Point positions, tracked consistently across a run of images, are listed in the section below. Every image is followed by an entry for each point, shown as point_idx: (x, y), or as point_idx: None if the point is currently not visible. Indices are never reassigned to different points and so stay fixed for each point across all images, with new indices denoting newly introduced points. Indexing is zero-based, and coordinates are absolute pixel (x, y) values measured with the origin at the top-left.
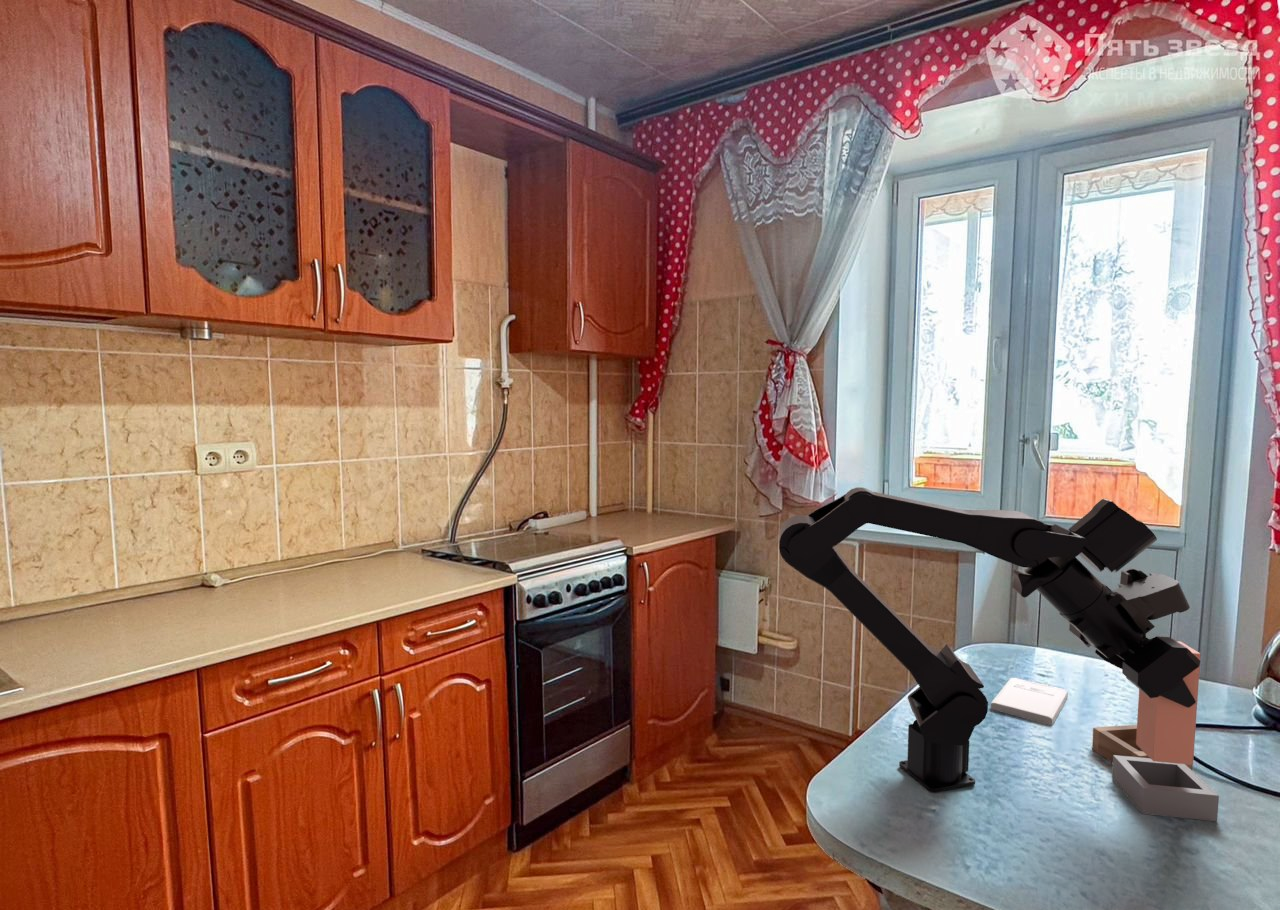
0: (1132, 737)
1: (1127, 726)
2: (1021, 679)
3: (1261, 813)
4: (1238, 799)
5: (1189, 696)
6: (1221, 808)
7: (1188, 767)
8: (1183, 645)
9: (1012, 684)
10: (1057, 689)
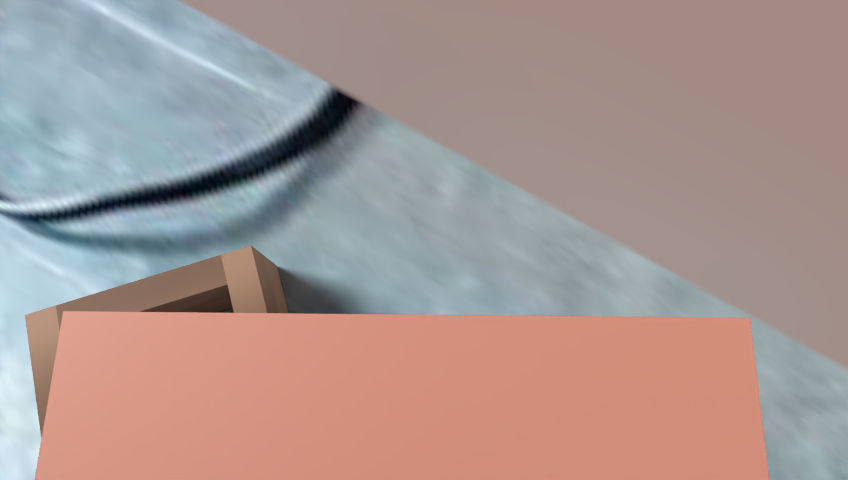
0: None
1: (46, 395)
2: None
3: (478, 185)
4: (408, 205)
5: None
6: (472, 286)
7: (272, 274)
8: (299, 386)
9: None
10: None
